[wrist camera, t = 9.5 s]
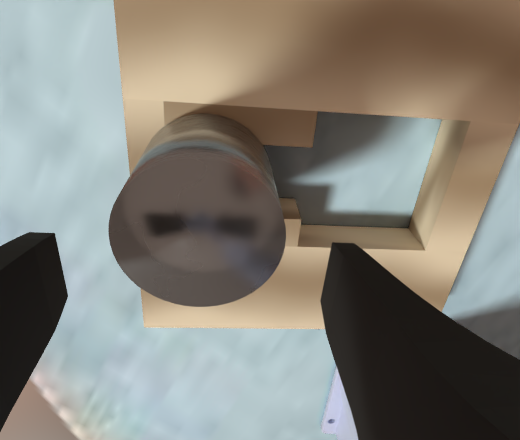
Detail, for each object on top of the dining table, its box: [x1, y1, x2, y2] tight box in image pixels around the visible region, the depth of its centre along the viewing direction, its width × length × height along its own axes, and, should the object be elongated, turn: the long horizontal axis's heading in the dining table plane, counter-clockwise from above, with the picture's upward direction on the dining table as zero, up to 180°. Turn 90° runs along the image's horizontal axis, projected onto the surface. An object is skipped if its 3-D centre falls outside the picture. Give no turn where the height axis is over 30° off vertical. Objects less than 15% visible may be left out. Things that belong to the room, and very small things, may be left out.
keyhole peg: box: [109, 113, 286, 307], centre depth 14 cm, size 5×5×7 cm
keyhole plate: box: [114, 0, 520, 329], centre depth 17 cm, size 16×15×2 cm
